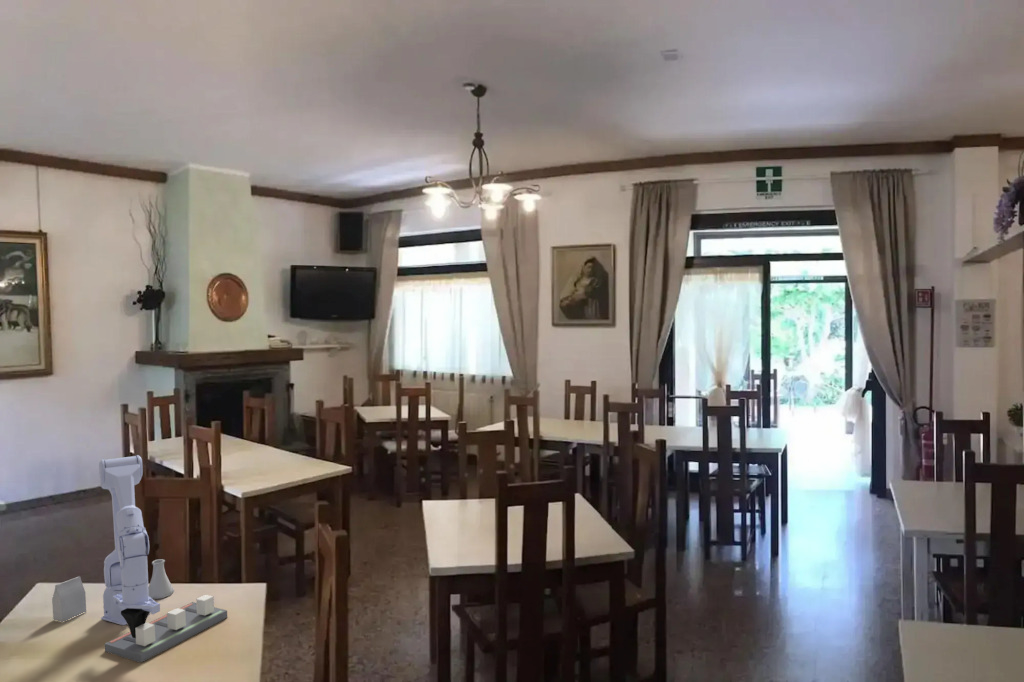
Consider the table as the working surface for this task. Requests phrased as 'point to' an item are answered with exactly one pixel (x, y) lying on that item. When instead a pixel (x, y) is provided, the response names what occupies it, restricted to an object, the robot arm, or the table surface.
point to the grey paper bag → (68, 599)
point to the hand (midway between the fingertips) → (137, 636)
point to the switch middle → (176, 618)
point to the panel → (165, 634)
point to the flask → (159, 581)
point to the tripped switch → (145, 634)
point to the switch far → (205, 604)
